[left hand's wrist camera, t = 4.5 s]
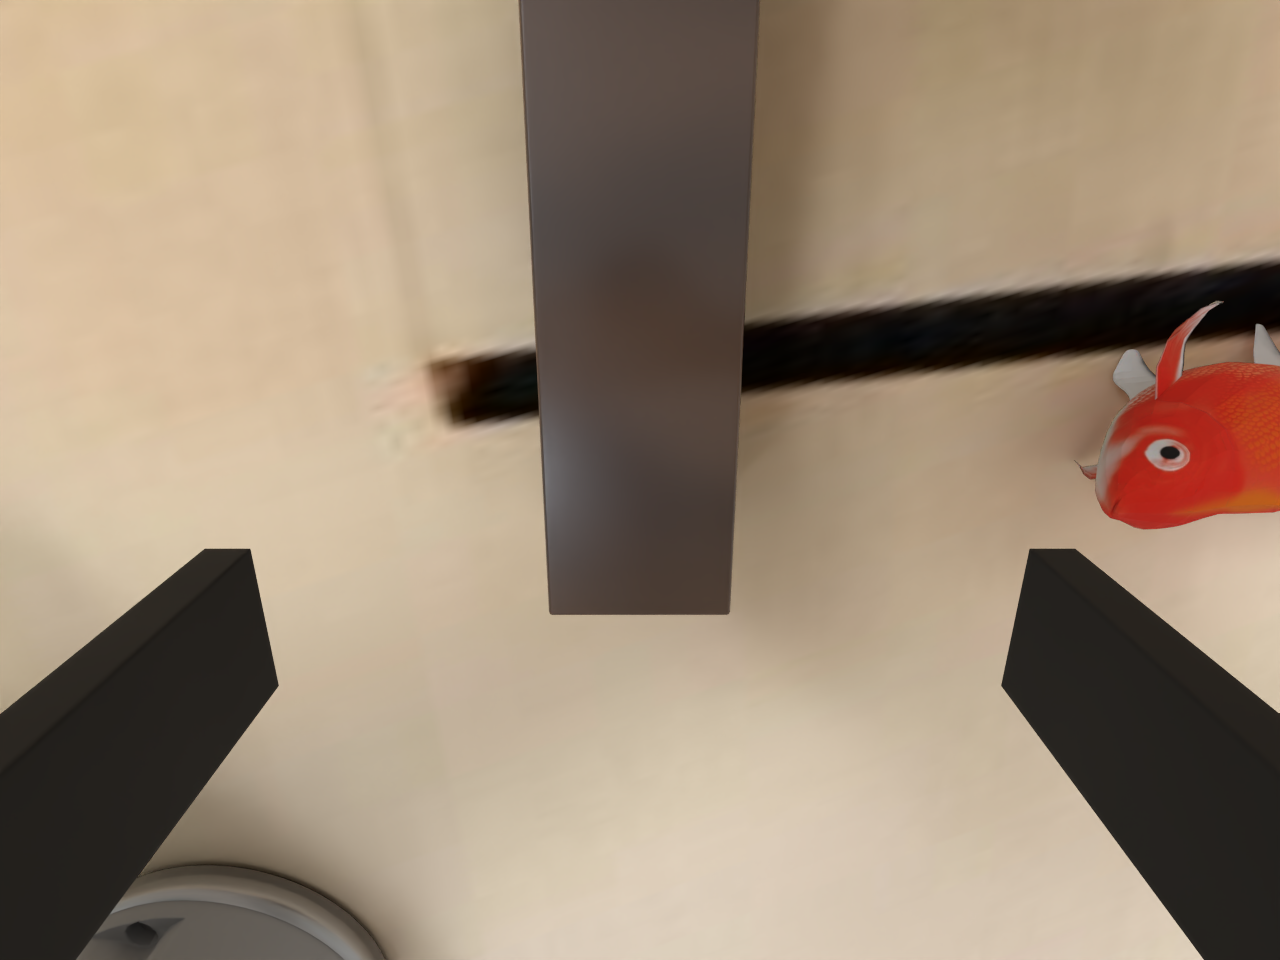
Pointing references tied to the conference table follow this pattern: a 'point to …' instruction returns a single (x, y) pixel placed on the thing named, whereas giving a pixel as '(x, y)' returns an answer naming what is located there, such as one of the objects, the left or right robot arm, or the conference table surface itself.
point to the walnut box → (639, 292)
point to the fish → (1192, 437)
